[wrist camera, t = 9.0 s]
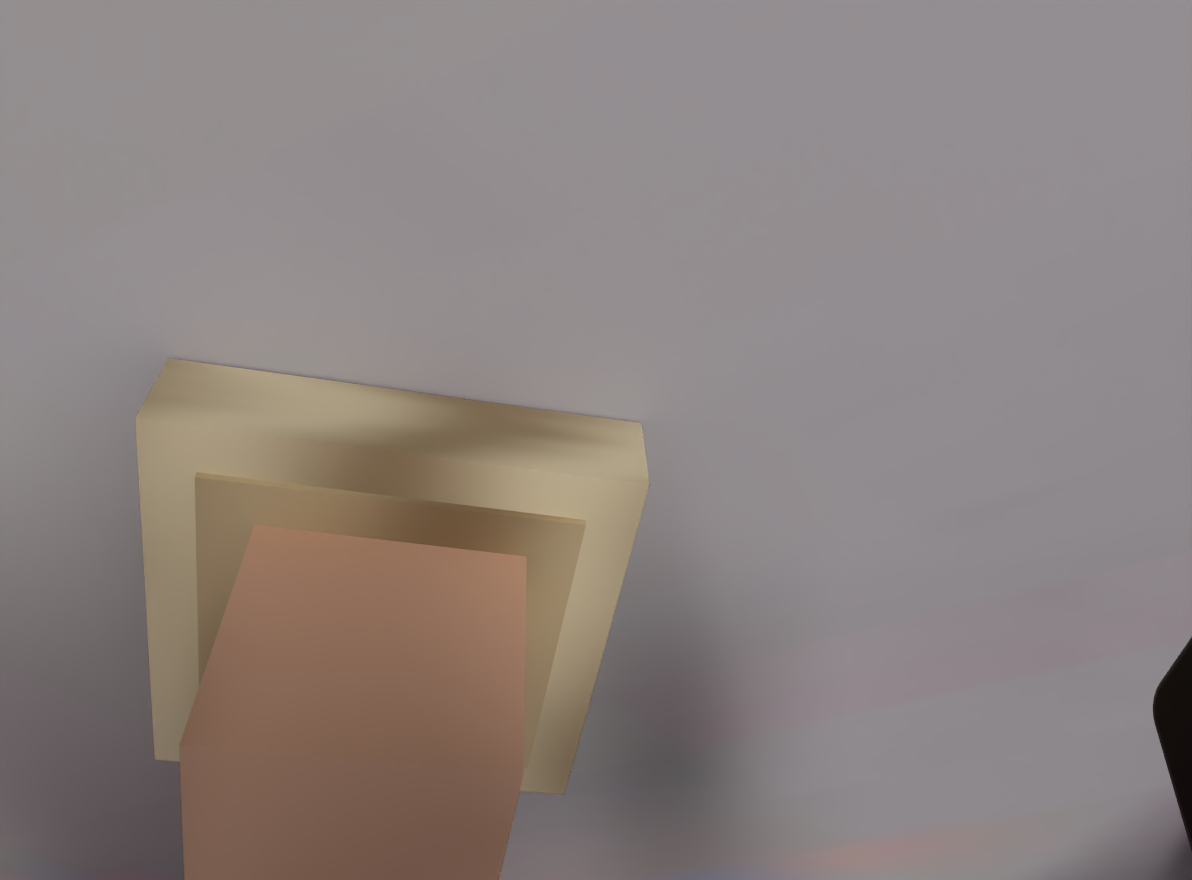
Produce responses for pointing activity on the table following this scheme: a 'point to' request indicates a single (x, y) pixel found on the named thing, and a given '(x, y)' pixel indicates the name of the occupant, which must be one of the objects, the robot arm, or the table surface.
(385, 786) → the cube
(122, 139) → the table surface
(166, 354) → the table surface
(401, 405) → the plinth
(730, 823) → the table surface
